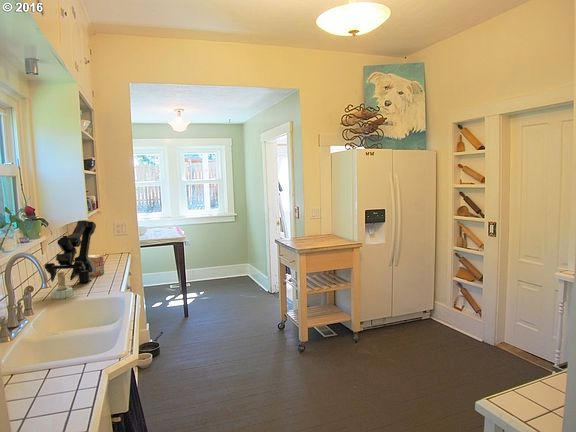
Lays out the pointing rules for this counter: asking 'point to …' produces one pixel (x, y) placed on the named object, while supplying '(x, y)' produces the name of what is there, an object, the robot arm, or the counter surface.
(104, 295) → the counter surface
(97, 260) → the beige printed box
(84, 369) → the counter surface
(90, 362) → the counter surface
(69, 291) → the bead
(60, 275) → the peg
